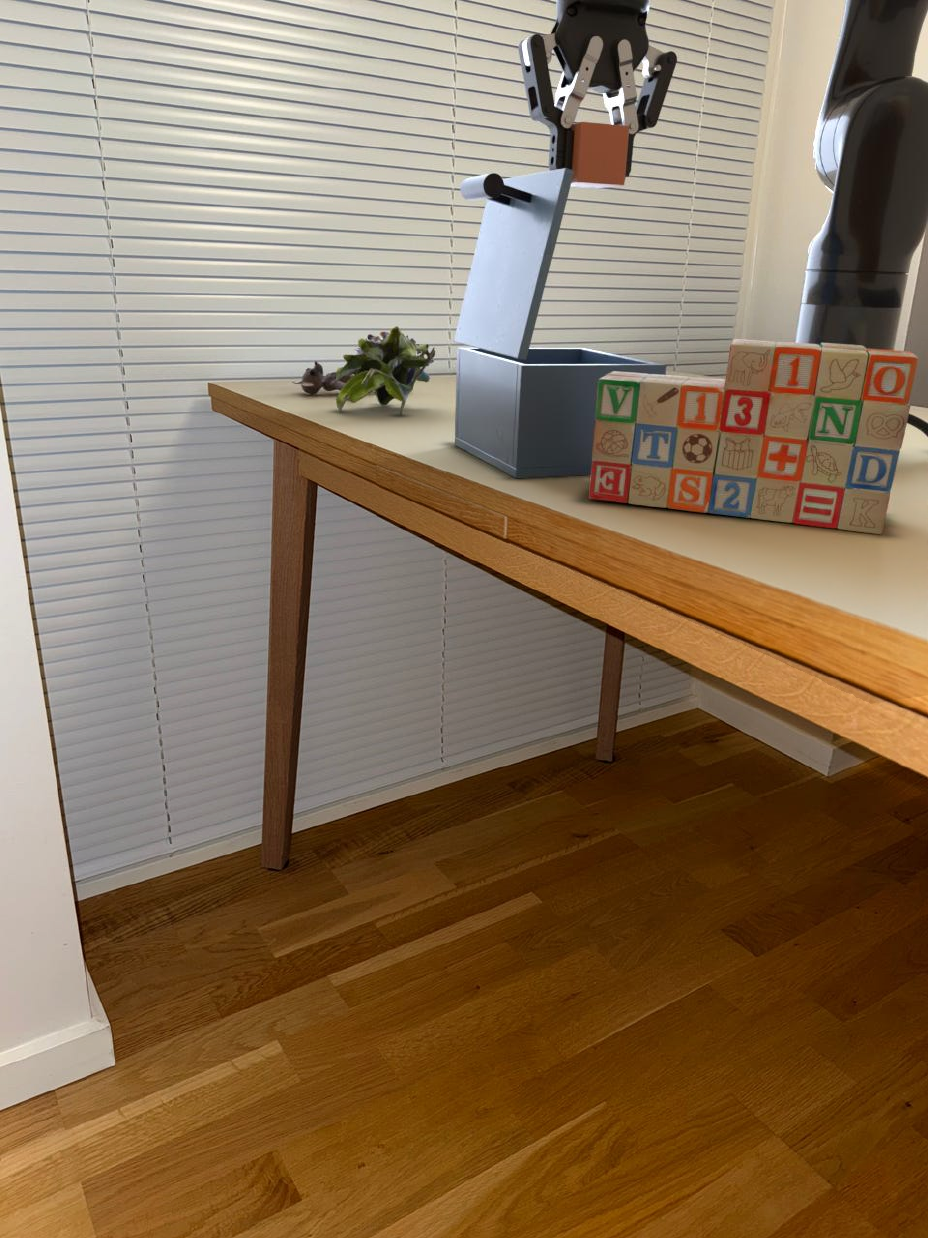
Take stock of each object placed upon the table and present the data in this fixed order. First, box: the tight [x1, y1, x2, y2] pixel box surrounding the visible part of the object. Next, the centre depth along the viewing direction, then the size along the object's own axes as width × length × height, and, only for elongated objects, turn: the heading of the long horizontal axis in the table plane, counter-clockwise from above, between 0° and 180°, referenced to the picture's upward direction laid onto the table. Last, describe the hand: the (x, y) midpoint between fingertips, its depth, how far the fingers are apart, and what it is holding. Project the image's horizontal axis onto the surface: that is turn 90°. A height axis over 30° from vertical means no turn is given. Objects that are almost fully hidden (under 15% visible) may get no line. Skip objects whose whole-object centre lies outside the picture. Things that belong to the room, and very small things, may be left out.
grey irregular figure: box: [291, 360, 354, 396], centre depth 125 cm, size 18×4×14 cm
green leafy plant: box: [335, 325, 436, 417], centre depth 110 cm, size 11×11×12 cm
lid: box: [453, 168, 574, 360], centre depth 79 cm, size 14×16×5 cm
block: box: [570, 121, 629, 189], centre depth 79 cm, size 4×4×4 cm
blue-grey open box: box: [454, 347, 667, 479], centre depth 86 cm, size 14×16×9 cm
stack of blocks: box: [588, 338, 919, 535], centre depth 69 cm, size 21×6×12 cm, turn 71°
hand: (589, 180), depth 80 cm, fingers closed on block, 4 cm apart
